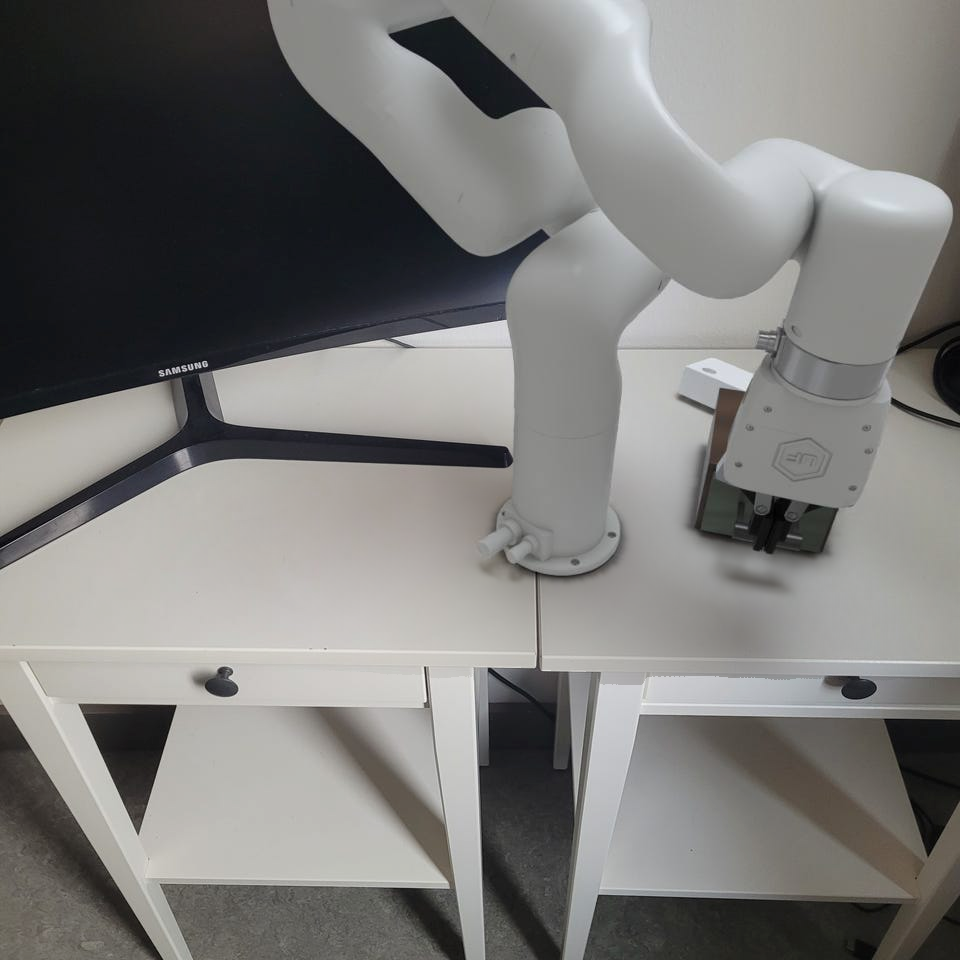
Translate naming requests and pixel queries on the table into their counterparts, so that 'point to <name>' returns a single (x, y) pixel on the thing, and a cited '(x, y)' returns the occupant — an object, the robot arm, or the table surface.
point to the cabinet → (725, 447)
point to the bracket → (712, 380)
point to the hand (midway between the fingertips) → (763, 541)
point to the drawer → (734, 510)
